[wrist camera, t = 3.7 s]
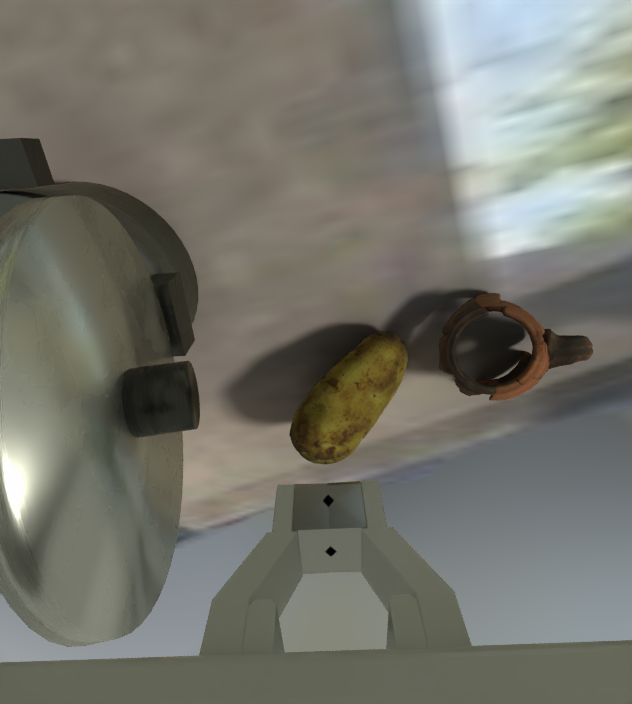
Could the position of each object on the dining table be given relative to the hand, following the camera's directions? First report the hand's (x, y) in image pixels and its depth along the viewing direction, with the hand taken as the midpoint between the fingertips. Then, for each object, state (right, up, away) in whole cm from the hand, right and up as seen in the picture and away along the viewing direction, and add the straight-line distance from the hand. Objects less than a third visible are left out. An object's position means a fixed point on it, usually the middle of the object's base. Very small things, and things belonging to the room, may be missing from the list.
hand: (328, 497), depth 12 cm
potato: (+3, +2, +27) cm, 27 cm away
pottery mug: (+17, +6, +25) cm, 30 cm away
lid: (-9, +2, +5) cm, 11 cm away
